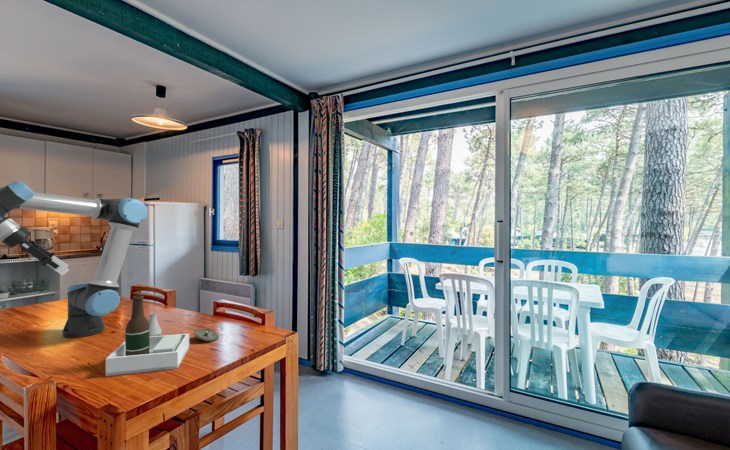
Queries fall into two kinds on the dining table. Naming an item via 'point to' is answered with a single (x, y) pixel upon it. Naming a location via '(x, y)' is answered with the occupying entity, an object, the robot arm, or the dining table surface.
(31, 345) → the dining table surface
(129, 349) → the beer bottle
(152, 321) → the flask
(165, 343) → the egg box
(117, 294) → the robot arm
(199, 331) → the lid
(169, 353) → the tray
